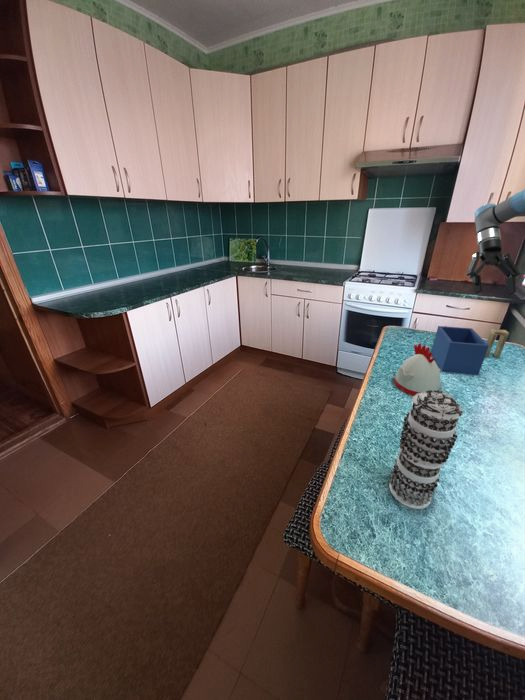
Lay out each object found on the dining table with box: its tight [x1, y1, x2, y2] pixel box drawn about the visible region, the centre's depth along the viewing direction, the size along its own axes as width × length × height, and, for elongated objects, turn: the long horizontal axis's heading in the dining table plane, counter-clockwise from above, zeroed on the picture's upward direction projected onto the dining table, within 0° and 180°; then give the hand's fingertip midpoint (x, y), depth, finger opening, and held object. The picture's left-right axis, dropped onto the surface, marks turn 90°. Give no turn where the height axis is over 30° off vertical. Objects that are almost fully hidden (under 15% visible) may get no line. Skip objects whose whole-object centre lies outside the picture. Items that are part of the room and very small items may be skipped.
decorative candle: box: [388, 390, 463, 510], centre depth 58 cm, size 9×9×25 cm
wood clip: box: [485, 328, 510, 359], centre depth 115 cm, size 5×3×11 cm, turn 75°
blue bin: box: [430, 325, 489, 376], centre depth 111 cm, size 16×12×12 cm
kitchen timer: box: [393, 343, 442, 396], centre depth 97 cm, size 14×14×15 cm
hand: (495, 292), depth 114 cm, fingers open, 13 cm apart
